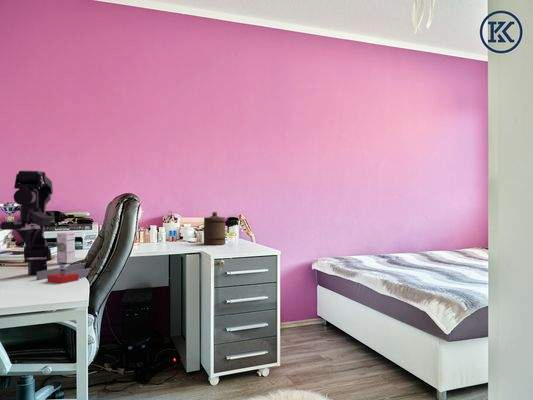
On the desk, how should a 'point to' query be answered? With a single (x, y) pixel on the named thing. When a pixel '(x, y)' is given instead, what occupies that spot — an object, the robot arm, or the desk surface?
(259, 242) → the desk surface
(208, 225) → the wooden container
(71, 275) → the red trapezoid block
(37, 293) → the desk surface
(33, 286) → the desk surface
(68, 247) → the syrup box
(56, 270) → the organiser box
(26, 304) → the desk surface
